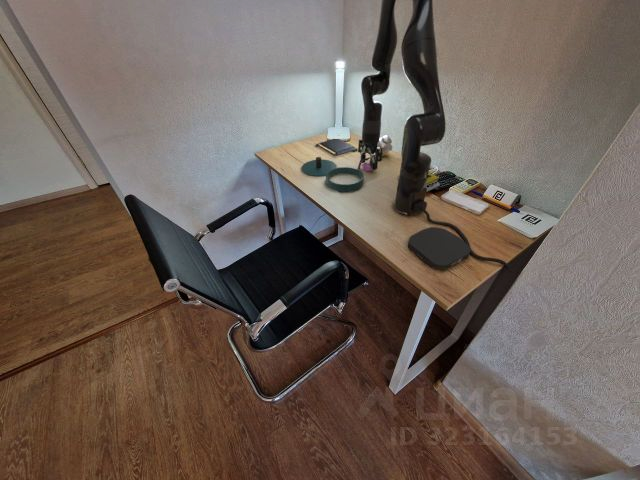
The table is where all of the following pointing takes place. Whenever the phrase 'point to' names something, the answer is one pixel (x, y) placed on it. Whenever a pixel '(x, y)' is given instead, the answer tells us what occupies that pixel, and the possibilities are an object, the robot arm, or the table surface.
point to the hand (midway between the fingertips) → (368, 166)
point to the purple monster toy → (366, 164)
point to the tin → (345, 187)
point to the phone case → (465, 202)
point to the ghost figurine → (385, 145)
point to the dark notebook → (336, 147)
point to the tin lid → (318, 167)
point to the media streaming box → (438, 247)
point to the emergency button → (430, 180)
